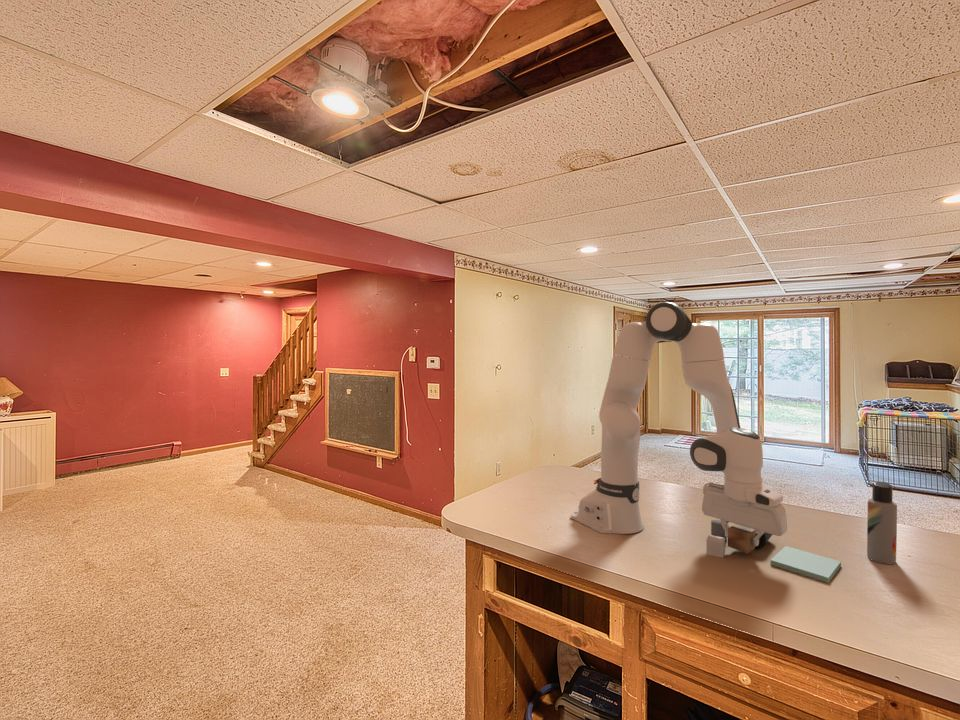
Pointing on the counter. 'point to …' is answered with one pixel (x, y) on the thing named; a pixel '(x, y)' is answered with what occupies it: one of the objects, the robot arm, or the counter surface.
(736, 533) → the walnut block
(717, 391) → the robot arm
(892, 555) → the lotion bottle
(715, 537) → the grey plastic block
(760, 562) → the counter surface
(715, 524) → the grey rounded piece
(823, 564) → the teal board
